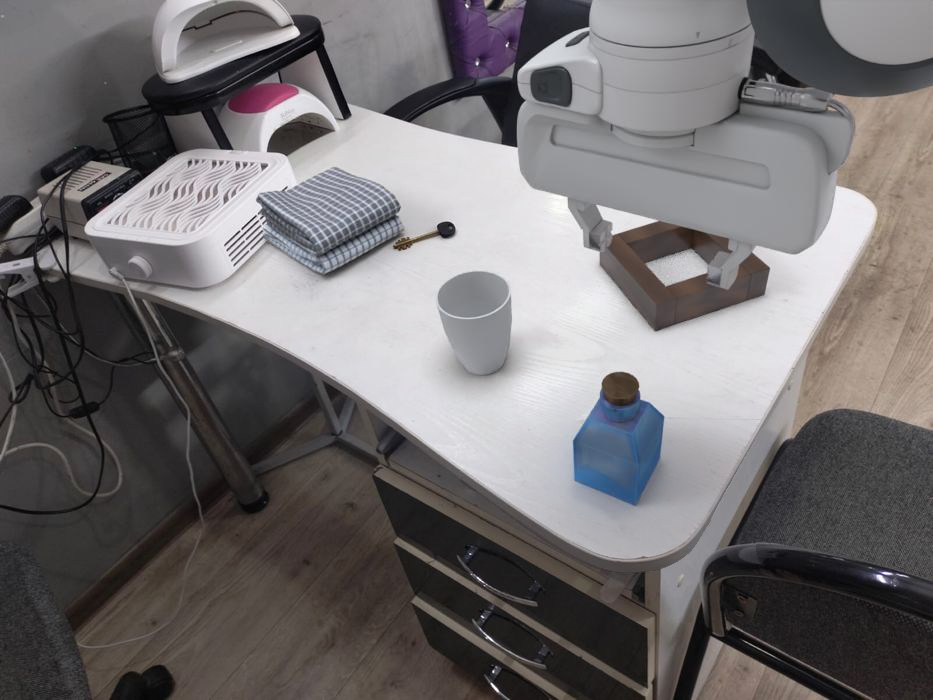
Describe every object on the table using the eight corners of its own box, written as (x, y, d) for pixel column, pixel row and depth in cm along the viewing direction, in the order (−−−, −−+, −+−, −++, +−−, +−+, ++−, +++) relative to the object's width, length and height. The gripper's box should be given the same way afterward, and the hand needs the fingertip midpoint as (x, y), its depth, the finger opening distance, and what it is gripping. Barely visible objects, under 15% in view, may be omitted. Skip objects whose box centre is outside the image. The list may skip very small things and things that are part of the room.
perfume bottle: (660, 457, 67) (668, 372, 58) (635, 505, 63) (640, 422, 55) (601, 435, 69) (601, 351, 61) (574, 480, 66) (571, 397, 58)
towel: (327, 284, 94) (311, 237, 89) (261, 239, 105) (243, 194, 100) (410, 233, 101) (400, 186, 96) (340, 195, 112) (327, 151, 106)
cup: (528, 343, 81) (521, 276, 74) (502, 391, 76) (493, 324, 69) (466, 330, 84) (454, 265, 77) (437, 376, 79) (422, 311, 72)
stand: (698, 233, 92) (701, 207, 89) (764, 294, 81) (770, 267, 78) (599, 264, 90) (599, 238, 87) (654, 331, 79) (656, 304, 77)
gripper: (883, 70, 35) (825, 279, 45) (549, 32, 46) (559, 208, 55) (844, 123, 32) (791, 337, 42) (494, 69, 43) (515, 249, 52)
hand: (656, 263), depth 49 cm, fingers open, 8 cm apart
